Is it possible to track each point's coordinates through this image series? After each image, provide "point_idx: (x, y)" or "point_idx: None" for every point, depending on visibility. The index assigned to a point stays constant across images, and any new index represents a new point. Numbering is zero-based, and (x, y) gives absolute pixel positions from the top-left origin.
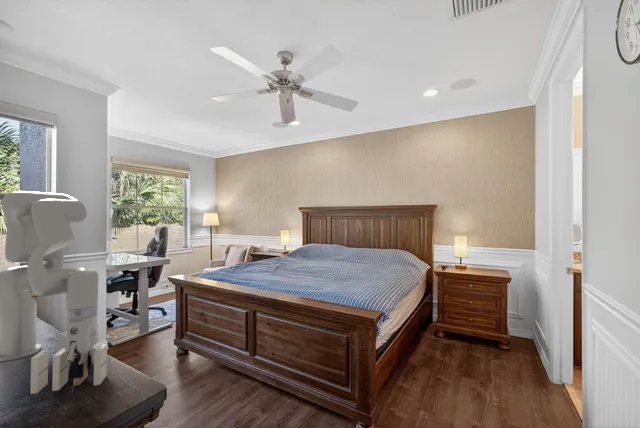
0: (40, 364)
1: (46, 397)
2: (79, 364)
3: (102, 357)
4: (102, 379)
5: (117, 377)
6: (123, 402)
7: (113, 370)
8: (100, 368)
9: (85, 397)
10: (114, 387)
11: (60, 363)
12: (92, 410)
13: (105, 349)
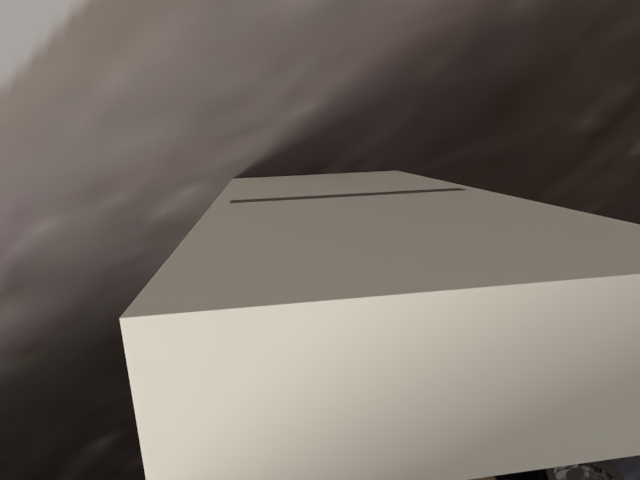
0: None
1: None
2: (593, 472)
3: (453, 214)
4: (340, 174)
5: (291, 46)
6: None
7: (111, 152)
8: (463, 186)
9: (576, 199)
10: (495, 5)
11: None
12: None
13: (303, 252)
